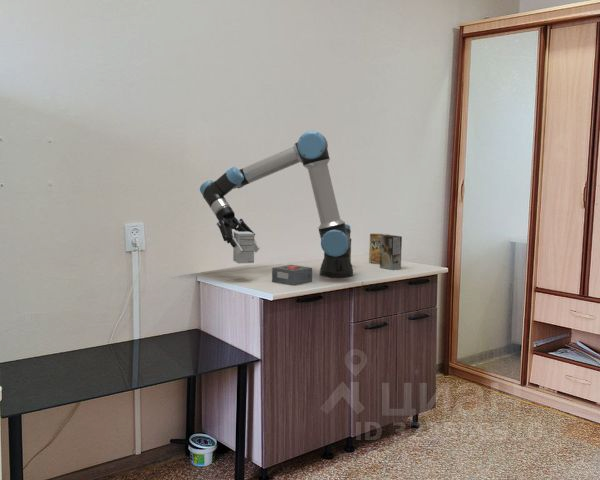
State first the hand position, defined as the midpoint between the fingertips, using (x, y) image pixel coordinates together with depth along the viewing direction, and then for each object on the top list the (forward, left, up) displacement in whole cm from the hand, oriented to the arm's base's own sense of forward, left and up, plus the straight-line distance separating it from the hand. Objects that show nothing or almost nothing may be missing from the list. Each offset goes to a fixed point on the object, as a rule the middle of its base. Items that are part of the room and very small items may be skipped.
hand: (249, 251), depth 256 cm
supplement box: (0, -3, -5) cm, 6 cm away
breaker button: (-12, +13, -11) cm, 21 cm away
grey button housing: (-12, +13, -13) cm, 22 cm away
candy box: (-84, +11, -13) cm, 86 cm away
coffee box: (-74, +24, -13) cm, 79 cm away
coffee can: (-60, +4, -13) cm, 62 cm away
